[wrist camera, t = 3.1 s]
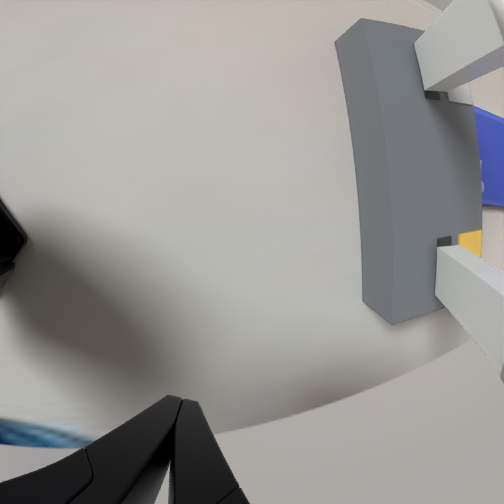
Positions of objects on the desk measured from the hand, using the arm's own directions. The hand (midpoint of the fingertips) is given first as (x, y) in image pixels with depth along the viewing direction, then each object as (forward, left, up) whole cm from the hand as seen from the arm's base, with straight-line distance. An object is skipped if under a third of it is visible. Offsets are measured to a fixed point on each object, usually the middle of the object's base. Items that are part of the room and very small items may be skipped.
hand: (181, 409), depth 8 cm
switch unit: (+4, +15, -12) cm, 20 cm away
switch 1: (-1, +19, -8) cm, 20 cm away
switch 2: (+9, +12, -8) cm, 17 cm away
